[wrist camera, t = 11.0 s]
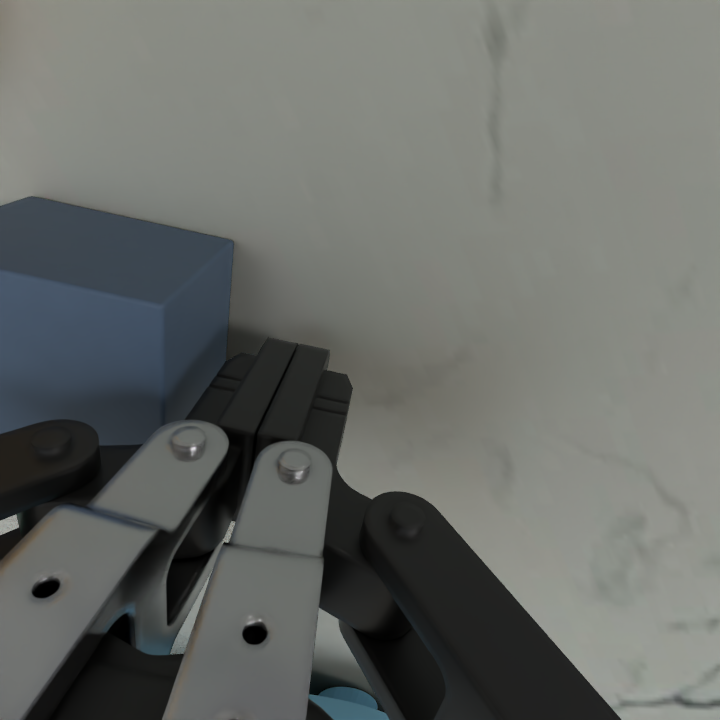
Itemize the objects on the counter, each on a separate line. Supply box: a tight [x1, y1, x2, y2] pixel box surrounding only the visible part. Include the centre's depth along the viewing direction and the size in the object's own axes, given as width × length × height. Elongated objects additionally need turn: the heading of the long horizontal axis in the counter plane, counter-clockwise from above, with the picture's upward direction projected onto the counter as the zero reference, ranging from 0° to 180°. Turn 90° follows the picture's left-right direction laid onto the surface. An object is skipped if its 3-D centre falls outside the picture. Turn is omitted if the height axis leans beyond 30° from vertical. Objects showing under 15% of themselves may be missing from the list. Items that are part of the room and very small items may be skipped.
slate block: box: [0, 196, 234, 445], centre depth 12 cm, size 5×5×4 cm
